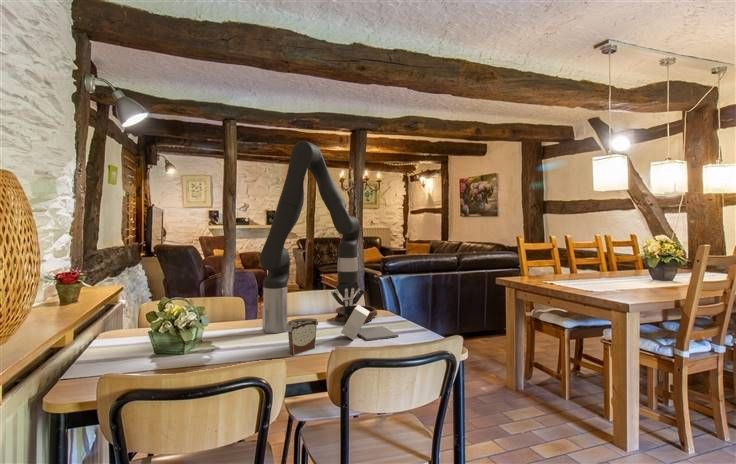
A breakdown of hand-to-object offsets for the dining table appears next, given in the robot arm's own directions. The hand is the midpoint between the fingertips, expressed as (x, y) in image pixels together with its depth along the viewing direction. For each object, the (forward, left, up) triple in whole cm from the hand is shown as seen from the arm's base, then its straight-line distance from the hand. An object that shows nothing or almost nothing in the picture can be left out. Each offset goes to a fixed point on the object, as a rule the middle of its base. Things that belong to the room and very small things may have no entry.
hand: (347, 315), depth 158 cm
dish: (+13, +24, -9) cm, 29 cm away
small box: (0, 0, -7) cm, 7 cm away
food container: (-21, -8, -8) cm, 24 cm away
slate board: (+11, 0, -8) cm, 14 cm away
